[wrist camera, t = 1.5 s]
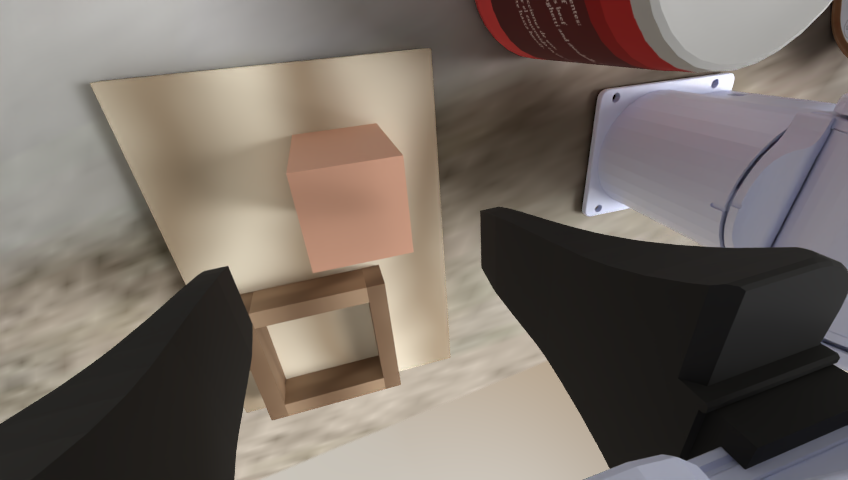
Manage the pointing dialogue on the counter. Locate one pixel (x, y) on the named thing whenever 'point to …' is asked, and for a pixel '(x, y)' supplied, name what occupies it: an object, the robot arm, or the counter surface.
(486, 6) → the canned food
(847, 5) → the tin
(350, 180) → the block
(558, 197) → the counter surface
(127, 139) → the board
